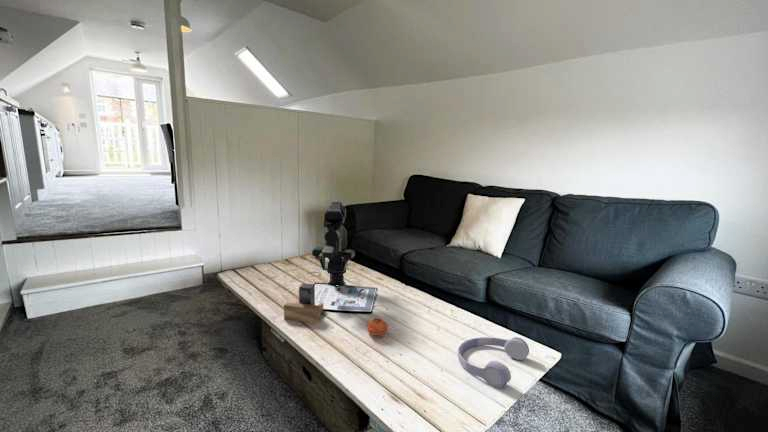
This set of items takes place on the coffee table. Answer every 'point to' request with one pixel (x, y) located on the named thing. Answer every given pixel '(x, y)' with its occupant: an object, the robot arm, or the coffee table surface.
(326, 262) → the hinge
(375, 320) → the pot
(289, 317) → the brown wooden frame
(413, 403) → the coffee table surface
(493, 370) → the headphones
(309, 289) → the stepped grey pillar
